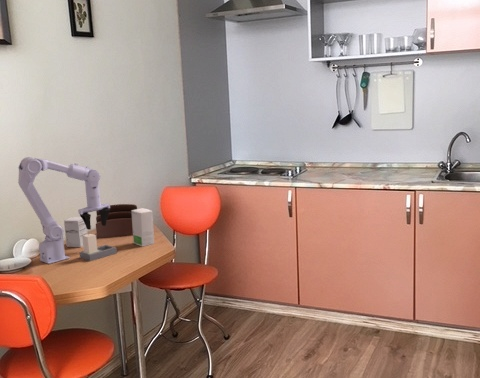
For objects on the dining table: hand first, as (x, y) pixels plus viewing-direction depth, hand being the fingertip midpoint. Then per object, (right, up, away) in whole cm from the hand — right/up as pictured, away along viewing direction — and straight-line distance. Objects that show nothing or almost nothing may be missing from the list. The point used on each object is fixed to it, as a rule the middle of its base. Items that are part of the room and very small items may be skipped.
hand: (96, 227), depth 235 cm
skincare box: (+19, -8, +9) cm, 23 cm away
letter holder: (+3, -6, +29) cm, 29 cm away
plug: (0, -10, -9) cm, 13 cm away
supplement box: (-12, -9, +12) cm, 19 cm away
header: (+3, -12, -6) cm, 13 cm away
